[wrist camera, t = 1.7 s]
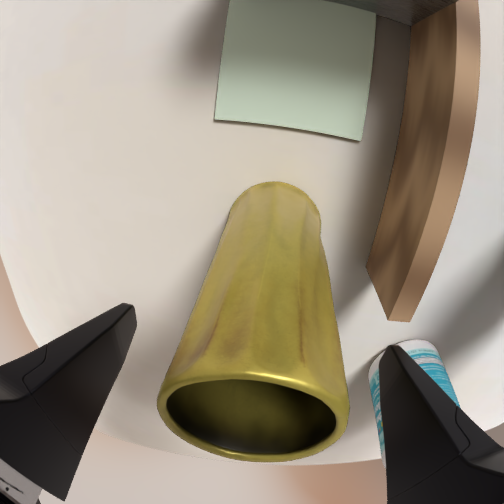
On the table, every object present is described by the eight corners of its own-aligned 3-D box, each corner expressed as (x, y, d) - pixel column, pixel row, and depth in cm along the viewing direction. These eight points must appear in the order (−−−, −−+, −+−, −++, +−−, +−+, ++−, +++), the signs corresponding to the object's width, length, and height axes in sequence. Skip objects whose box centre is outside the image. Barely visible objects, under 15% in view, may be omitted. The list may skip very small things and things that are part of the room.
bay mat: (360, 141, 16) (361, 141, 16) (215, 119, 16) (214, 119, 16) (375, 13, 12) (376, 13, 12) (231, -8, 12) (231, -9, 12)
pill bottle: (363, 349, 24) (387, 489, 12) (437, 325, 22) (490, 450, 10) (369, 392, 26) (385, 506, 15) (432, 372, 25) (465, 479, 13)
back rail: (383, 269, 20) (409, 322, 14) (365, 267, 20) (387, 320, 15) (430, 1, 10) (474, -25, 5) (411, -8, 10) (451, -38, 5)
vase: (294, 278, 21) (293, 476, 8) (215, 244, 20) (131, 429, 8) (336, 206, 18) (415, 397, 6) (250, 165, 18) (159, 312, 5)
